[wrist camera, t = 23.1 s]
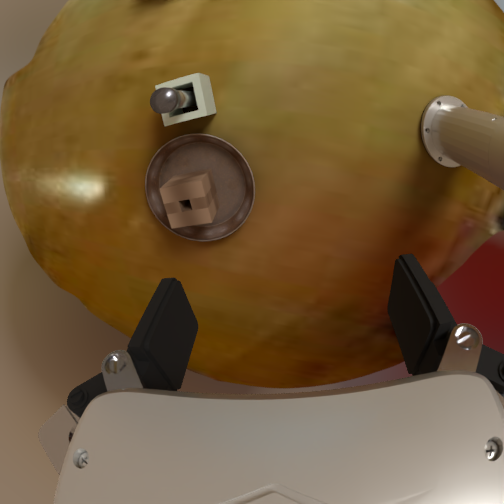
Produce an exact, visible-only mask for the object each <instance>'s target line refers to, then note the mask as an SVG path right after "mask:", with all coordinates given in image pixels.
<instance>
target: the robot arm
mask: <svg viewBox="0 0 504 504" xmlns="http://www.w3.org/2000/svg"><path fill="white" fill-rule="evenodd" d="M425 129H426V131H425ZM421 134H422V140H423V143H424V146H425V148H426V150H427V152H428V153H429V155H430V156H431V157H432V158H433V159H434V160H435V161H436V162H438V163H439V164H441V165H443V166H446V167H457V166H460V165H462V166H464V167H465V168H467V169H469V170H471V171H473V172H474V173H476V174H478V175H480V176H481V177H483V178H485V179H486V180H488V181H490V182H491V183H493V184H494V185H496V186H498V187H499V188H501V189H502V190H504V117H502V116H498V115H494V114H491V113H487V112H483V111H478V110H474V109H469V108H468V107H467V106H466V105H465V104H464V103H463V102H462V101H461V100H459V99H457V98H455V97H452V96H439V97H436V98H435V99H433V100H432V101H431V102H430V103H429V104H428V105H427V107H426V108H425V110H424V113H423V116H422V121H421ZM388 314H389V317H390V319H391V322H392V325H393V328H394V330H395V333H396V336H397V339H398V342H399V345H400V348H401V351H402V354H403V357H404V360H405V364H406V367H407V370H408V373H409V374H412V375H413V376H411V377H407V378H402V379H397V380H391V381H386V382H380V383H375V384H369V385H363V386H356V387H349V388H341V389H333V390H324V391H313V392H301V393H284V394H210V393H194V392H180V391H177V389H180V388H181V385H182V382H183V378H184V375H185V371H186V368H187V365H188V361H189V358H190V354H191V351H192V348H193V344H194V341H195V338H196V334H197V331H198V322H197V320H196V318H195V315H194V313H193V311H192V308H191V306H190V304H189V301H188V299H187V297H186V294H185V292H184V289H183V287H182V284H181V282H180V281H177V279H176V278H164V279H162V280H161V282H160V284H159V286H158V287H157V289H156V291H155V293H154V295H153V297H152V299H151V301H150V302H149V304H148V306H147V308H146V310H145V312H144V314H143V316H142V318H141V320H140V322H139V324H138V326H137V328H136V330H135V332H134V334H133V336H132V338H131V340H130V342H129V345H128V349H127V351H124V350H117V351H114V352H112V353H110V354H109V355H108V356H107V357H106V358H105V359H104V361H103V363H102V372H101V373H100V374H98V375H96V376H94V377H93V378H91V379H89V380H88V381H86V382H84V383H83V384H81V385H79V386H77V387H76V388H74V389H73V390H72V391H71V392H70V394H69V396H68V399H67V406H65V405H63V406H62V407H61V408H60V409H59V410H58V411H57V412H56V413H55V414H54V415H53V416H52V417H51V418H50V419H49V420H48V421H47V422H46V423H45V424H44V425H42V427H41V428H40V431H39V440H40V443H41V444H42V446H43V448H44V450H45V452H46V454H47V455H48V457H49V459H50V461H51V462H52V464H53V466H54V467H55V469H56V471H57V472H58V474H59V475H60V476H59V480H58V485H57V489H56V493H55V498H54V503H53V504H504V354H502V353H500V352H497V351H495V350H493V349H491V348H489V347H487V346H485V345H483V344H482V336H481V333H480V332H479V331H478V329H476V328H475V327H474V326H472V325H470V324H459V325H457V324H456V322H455V320H454V318H453V317H452V315H451V313H450V311H449V309H448V307H447V306H446V304H445V302H444V300H443V299H442V297H441V295H440V294H439V292H438V290H437V288H436V287H435V285H434V284H433V283H432V282H431V281H430V280H429V278H428V277H427V275H426V273H425V272H424V270H423V269H422V267H421V266H420V264H419V263H418V261H417V260H416V258H415V257H414V255H413V254H406V255H400V256H399V259H396V260H395V266H394V273H393V279H392V285H391V291H390V296H389V302H388Z"/></svg>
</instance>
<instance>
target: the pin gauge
mask: <svg viewBox="0 0 504 504" xmlns="http://www.w3.org/2000/svg"><path fill="white" fill-rule="evenodd" d="M150 105H151V107H152V109H153V110H154V111H155V112H157V113H160V114H164V113H169V112H172V111H174V110H176V109H179V108H185V107H193V106H197V101H196V97H195V92H194V91H179V90H176V89H174V88H167V87H163V88H159V89H157V90H156V91H155V92H154V93H153V94H152V96H151V99H150Z"/></svg>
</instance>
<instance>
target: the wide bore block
mask: <svg viewBox="0 0 504 504" xmlns="http://www.w3.org/2000/svg"><path fill="white" fill-rule="evenodd" d="M155 87H156V90H157V89H159V88H163V87H167V88H174V89H176V90H182V89H186V88H189V87H194V92H195V97H196V101H197V106H198V110H196V111H192V112H189V113H185V114H183V110H182V108H179V109H176V110H174V111H172V112H169V113H164V114H162V118H163V122H164V126H168V125H172V124H175V123H179V122H183V121H187V120H191V119H195V118H199V117H203V116H207V115H211V114H215V113H216V108H215V103H214V98H213V93H212V89H211V84H210V79H209V76H207V75H204V74H201V73H195V74H192V75H188V76H185V77H181V78H178V79H175V80H171V81H168V82H165V83H162V84H159V85H156V86H155Z"/></svg>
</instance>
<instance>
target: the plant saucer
mask: <svg viewBox="0 0 504 504" xmlns="http://www.w3.org/2000/svg"><path fill="white" fill-rule="evenodd" d="M206 169H212V174H213V178H214V183H215V187H216V191H217V196H218V200H219V204H220V206H219V208H218V211H217V213H216V215H215V217H214V219H213V222H212V223H206V224H199V225H192V226H186V227H179V228H171V225H170V222H169V219H168V216H167V212H166V209H165V206H164V203H163V199H162V196H161V193H160V188H161V187H162V186H163V185H164V184H165V183H167V182H168V181H169V180H170V179H171V178H172V177H173V176H176V175H181V174H186V173H190V172H195V171H201V170H206ZM145 191H146V197H147V200H148V203H149V206H150V208H151V210H152V212H153V213H154V215H155V216H156V218H157V219H158V220H159V221H160V222H161V223H162V224H163V225H164V226H165V227H166V228H167V229H169V230H170V231H171V232H173V233H175V234H176V235H178V236H180V237H183V238H186V239H189V240H194V241H212V240H217V239H221V238H224V237H226V236H228V235H230V234H232V233H233V232H235V231H236V230H237V229H238V228H239V227H240V226H241V225H242V224H243V223H244V222H245V220H246V219H247V218H248V216H249V214H250V212H251V209H252V207H253V203H254V198H255V183H254V178H253V174H252V171H251V169H250V167H249V165H248V163H247V161H246V160H245V158H244V157H243V155H242V154H241V153H240V152H239V151H238V150H237V149H236V148H235V147H234V146H232V145H231V144H230V143H228V142H226V141H224V140H223V139H220V138H218V137H215V136H212V135H207V134H187V135H183V136H180V137H177V138H175V139H172V140H171V141H169V142H167V143H166V144H165V145H163V146H162V147H161V148H160V149H159V150H158V151H157V152H156V154H155V155H154V157H153V158H152V160H151V162H150V164H149V166H148V169H147V173H146V178H145Z"/></svg>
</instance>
